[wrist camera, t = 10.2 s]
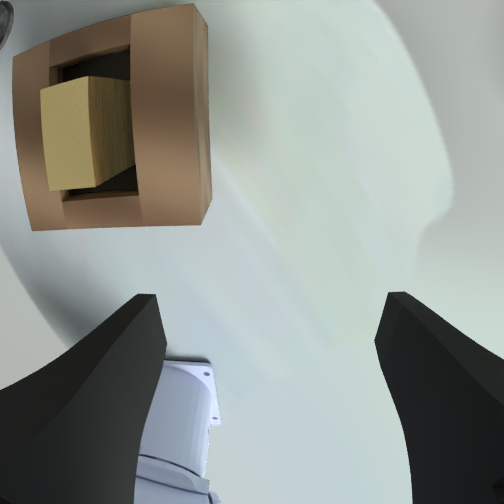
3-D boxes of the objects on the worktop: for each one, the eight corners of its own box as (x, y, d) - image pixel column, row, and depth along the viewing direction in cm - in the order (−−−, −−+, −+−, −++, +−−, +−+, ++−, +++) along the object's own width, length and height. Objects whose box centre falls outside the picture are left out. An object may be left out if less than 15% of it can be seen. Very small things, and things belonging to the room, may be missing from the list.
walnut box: (212, 198, 17) (200, 225, 14) (66, 207, 17) (32, 231, 14) (207, 25, 13) (193, 3, 9) (53, 60, 13) (13, 57, 9)
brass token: (144, 159, 16) (95, 187, 11) (107, 162, 16) (49, 191, 11) (141, 82, 14) (87, 76, 9) (102, 89, 14) (40, 89, 9)
